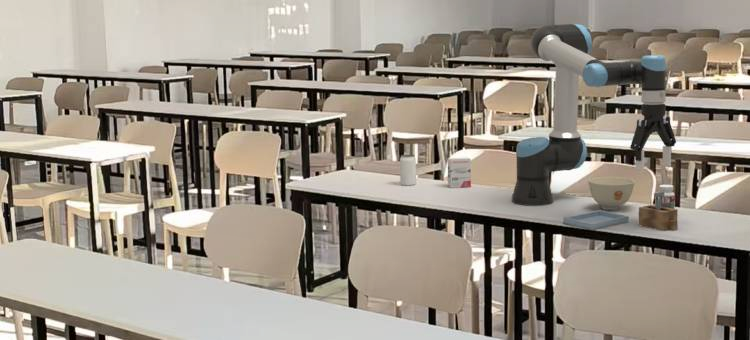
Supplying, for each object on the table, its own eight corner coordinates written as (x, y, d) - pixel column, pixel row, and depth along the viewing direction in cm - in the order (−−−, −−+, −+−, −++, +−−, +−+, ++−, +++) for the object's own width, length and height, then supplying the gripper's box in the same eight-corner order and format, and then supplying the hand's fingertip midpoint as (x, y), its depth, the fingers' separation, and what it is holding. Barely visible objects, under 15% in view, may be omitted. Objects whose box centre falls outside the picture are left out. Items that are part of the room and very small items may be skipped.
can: (416, 185, 412) (415, 156, 410) (400, 186, 412) (399, 157, 410) (415, 182, 418) (415, 154, 416) (400, 183, 418) (399, 154, 416)
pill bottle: (674, 216, 346) (675, 187, 344) (657, 215, 347) (658, 187, 345) (673, 212, 351) (674, 184, 350) (656, 212, 352) (657, 184, 351)
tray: (563, 223, 339) (563, 217, 338) (599, 215, 349) (599, 210, 349) (592, 230, 328) (592, 224, 328) (628, 221, 339) (628, 216, 338)
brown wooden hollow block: (638, 225, 334) (638, 207, 333) (651, 222, 337) (651, 204, 336) (669, 231, 324) (669, 213, 323) (681, 228, 328) (682, 210, 327)
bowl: (634, 204, 366) (634, 177, 365) (634, 213, 351) (634, 185, 349) (589, 203, 370) (589, 176, 369) (587, 212, 355) (587, 184, 353)
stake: (652, 226, 331) (653, 193, 329) (660, 224, 333) (660, 191, 332) (656, 227, 330) (657, 193, 328) (664, 225, 332) (665, 192, 330)
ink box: (468, 185, 411) (467, 156, 409) (471, 187, 406) (470, 158, 404) (447, 186, 410) (447, 157, 408) (450, 188, 405) (450, 159, 403)
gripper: (637, 106, 318) (637, 173, 321) (687, 100, 332) (687, 165, 335) (618, 105, 324) (619, 171, 327) (668, 100, 338) (668, 163, 341)
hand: (653, 168), depth 331 cm, fingers open, 13 cm apart
